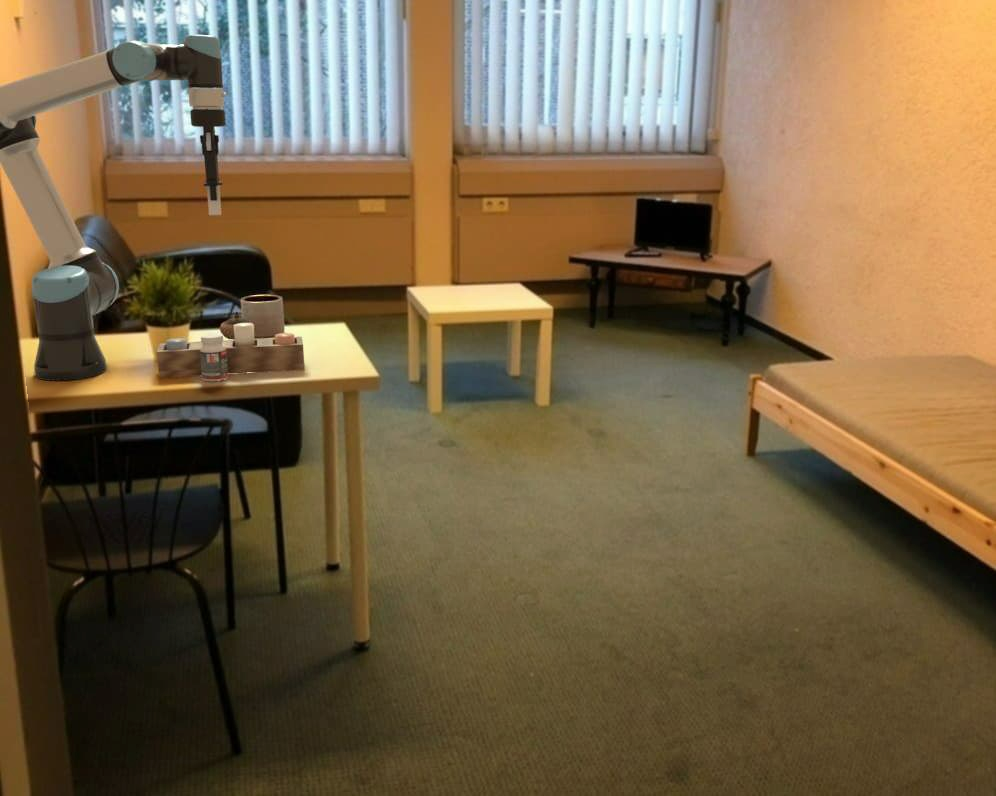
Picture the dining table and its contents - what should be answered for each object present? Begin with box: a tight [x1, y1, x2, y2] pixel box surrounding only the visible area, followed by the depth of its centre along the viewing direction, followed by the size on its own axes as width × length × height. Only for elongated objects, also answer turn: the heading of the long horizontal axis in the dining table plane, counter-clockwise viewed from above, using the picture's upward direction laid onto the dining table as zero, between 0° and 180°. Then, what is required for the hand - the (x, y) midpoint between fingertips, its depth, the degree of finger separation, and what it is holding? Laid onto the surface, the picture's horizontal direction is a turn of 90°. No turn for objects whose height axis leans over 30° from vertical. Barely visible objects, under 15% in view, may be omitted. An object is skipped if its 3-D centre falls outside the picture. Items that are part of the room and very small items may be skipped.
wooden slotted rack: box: [156, 336, 305, 378], centre depth 232 cm, size 32×8×6 cm, turn 103°
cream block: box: [234, 323, 256, 347], centre depth 231 cm, size 4×4×6 cm
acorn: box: [219, 311, 255, 340], centre depth 248 cm, size 8×8×10 cm
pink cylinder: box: [274, 332, 295, 345], centre depth 234 cm, size 4×4×6 cm
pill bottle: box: [200, 332, 229, 382], centre depth 223 cm, size 6×6×10 cm
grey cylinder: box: [165, 337, 187, 350], centre depth 229 cm, size 4×4×6 cm
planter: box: [240, 294, 285, 339], centre depth 266 cm, size 11×11×10 cm
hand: (215, 214), depth 233 cm, fingers closed
